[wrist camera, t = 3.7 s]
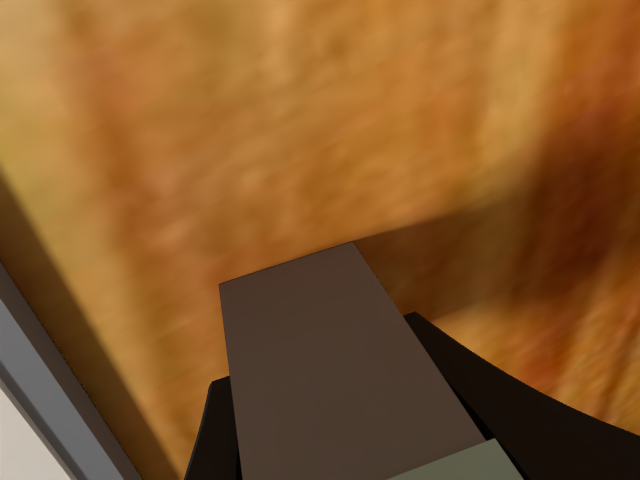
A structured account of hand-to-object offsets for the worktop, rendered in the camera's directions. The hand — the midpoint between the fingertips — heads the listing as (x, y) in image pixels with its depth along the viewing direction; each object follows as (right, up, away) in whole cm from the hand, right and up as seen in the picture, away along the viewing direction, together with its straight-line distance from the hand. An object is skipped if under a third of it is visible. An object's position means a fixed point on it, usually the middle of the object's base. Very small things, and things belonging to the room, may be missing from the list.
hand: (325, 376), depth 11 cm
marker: (-1, +1, +2) cm, 2 cm away
